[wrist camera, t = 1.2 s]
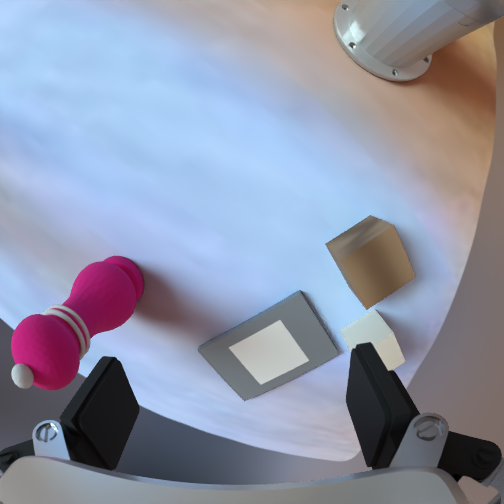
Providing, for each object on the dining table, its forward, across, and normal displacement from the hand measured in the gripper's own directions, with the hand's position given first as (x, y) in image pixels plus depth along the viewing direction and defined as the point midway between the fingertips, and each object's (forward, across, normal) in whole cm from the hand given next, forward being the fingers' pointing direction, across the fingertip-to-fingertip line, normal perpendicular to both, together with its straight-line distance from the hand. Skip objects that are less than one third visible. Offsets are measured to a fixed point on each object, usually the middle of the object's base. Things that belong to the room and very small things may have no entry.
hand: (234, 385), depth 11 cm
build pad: (+21, -1, +13) cm, 25 cm away
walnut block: (+21, -12, +2) cm, 25 cm away
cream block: (+21, -13, +12) cm, 28 cm away
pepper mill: (+21, +16, +3) cm, 27 cm away
